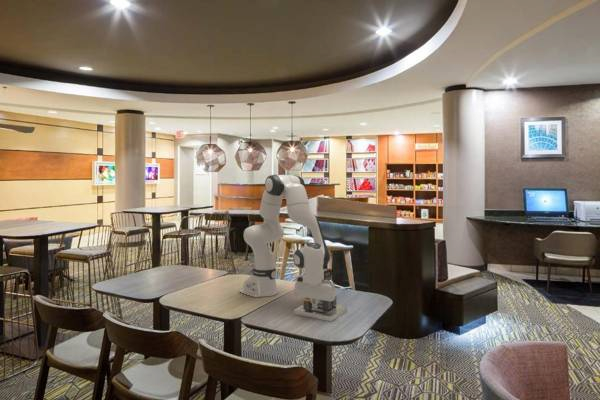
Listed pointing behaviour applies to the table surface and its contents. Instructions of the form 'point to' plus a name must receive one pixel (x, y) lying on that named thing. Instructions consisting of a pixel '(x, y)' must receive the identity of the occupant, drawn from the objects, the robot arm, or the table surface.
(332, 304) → the breaker
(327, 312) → the panel
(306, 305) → the breaker
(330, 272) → the coffee box
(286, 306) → the table surface
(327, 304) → the block
